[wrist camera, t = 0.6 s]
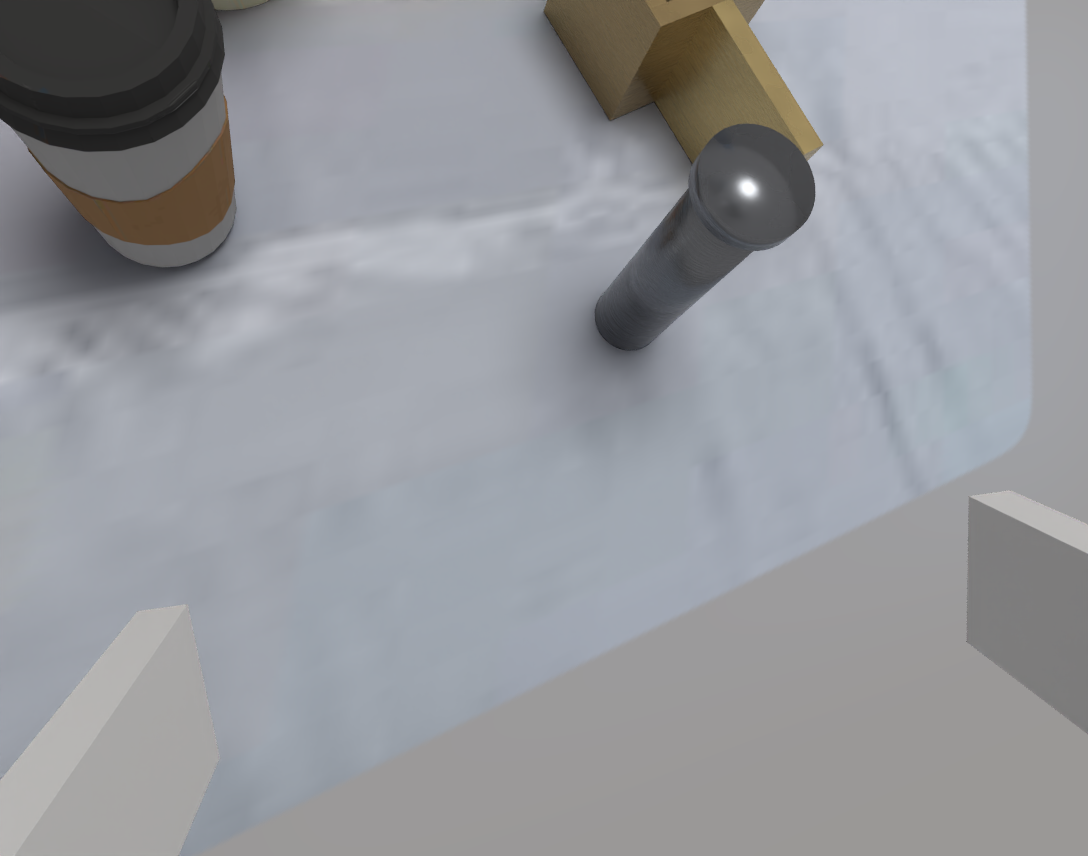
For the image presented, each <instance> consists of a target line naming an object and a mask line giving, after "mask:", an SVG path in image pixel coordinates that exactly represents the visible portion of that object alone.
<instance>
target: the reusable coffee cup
mask: <svg viewBox="0 0 1088 856" xmlns="http://www.w3.org/2000/svg"><path fill="white" fill-rule="evenodd" d="M211 1H212V3H213V5H214V8H215V10H237V9H246V8H249V7H253V6H257V5H260V4H263V3H265V2H267V1H269V0H211Z"/></svg>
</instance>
